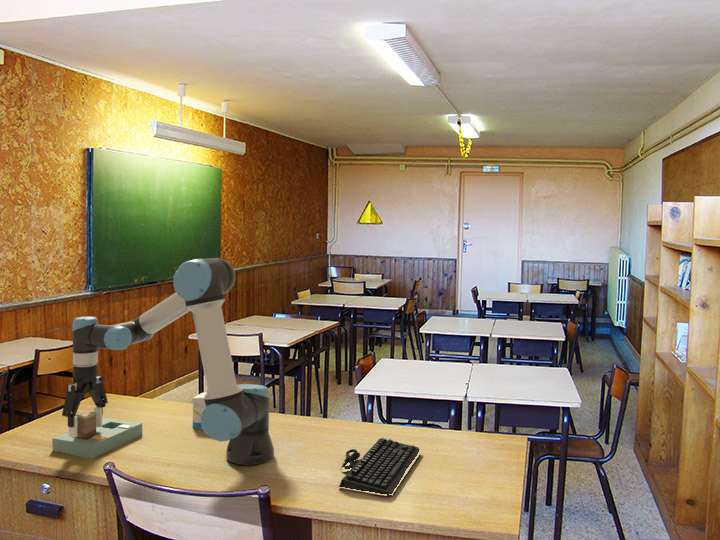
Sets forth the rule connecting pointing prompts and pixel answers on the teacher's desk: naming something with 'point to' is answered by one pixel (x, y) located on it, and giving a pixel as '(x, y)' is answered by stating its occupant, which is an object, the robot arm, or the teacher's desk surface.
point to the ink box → (198, 409)
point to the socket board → (98, 439)
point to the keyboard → (379, 467)
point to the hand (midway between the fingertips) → (85, 431)
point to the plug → (86, 425)
